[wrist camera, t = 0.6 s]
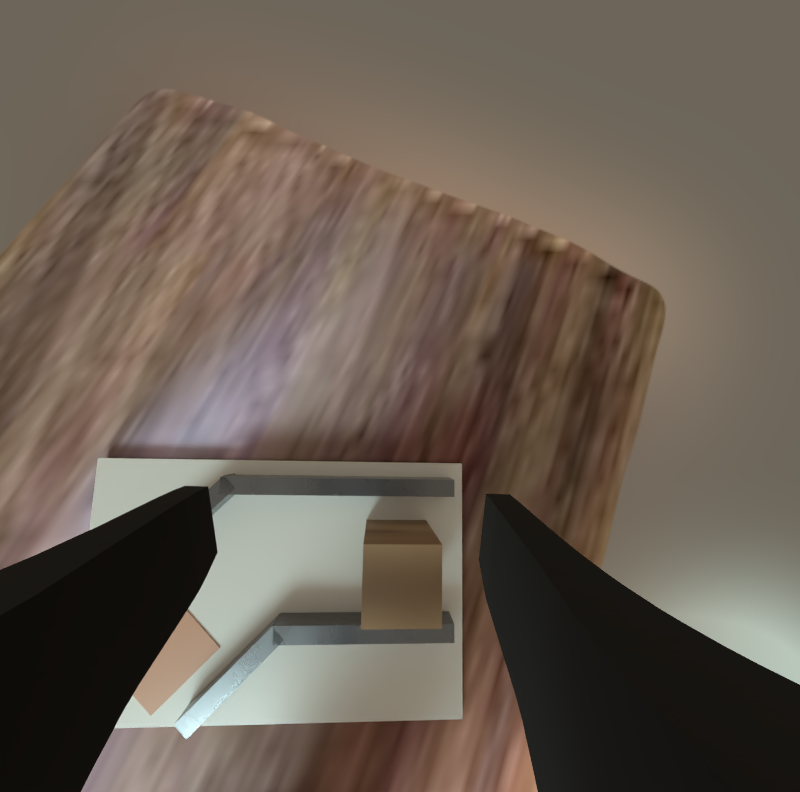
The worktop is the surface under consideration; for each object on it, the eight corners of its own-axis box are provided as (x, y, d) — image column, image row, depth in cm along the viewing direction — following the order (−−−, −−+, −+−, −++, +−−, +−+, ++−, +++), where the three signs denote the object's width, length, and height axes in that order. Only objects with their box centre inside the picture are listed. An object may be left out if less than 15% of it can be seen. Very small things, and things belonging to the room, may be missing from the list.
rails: (448, 710, 27) (454, 731, 25) (83, 719, 25) (58, 742, 23) (448, 475, 29) (454, 478, 27) (111, 471, 27) (91, 473, 26)
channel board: (460, 713, 27) (462, 720, 27) (72, 722, 26) (64, 730, 25) (460, 463, 30) (462, 463, 29) (103, 457, 28) (97, 458, 27)
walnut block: (425, 582, 28) (441, 628, 21) (364, 582, 28) (360, 629, 21) (426, 520, 28) (442, 544, 22) (366, 519, 28) (363, 544, 21)
